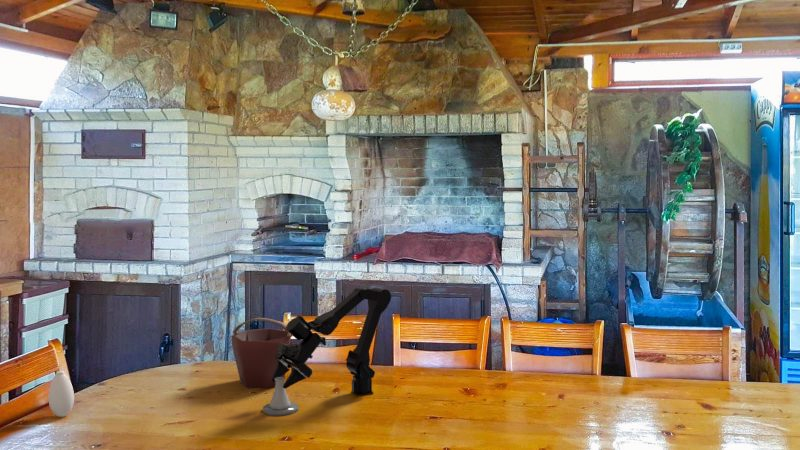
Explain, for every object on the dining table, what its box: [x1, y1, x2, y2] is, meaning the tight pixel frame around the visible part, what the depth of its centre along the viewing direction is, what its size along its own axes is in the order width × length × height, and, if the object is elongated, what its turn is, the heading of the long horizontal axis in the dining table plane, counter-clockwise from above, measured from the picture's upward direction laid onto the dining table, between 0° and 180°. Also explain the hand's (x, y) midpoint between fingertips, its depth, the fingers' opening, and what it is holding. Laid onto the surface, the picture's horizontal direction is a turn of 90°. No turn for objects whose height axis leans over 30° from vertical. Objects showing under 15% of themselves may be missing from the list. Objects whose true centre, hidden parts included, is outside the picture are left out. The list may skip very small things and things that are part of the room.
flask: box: [269, 377, 292, 410], centre depth 257 cm, size 7×7×10 cm
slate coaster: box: [262, 401, 299, 417], centre depth 257 cm, size 12×12×1 cm
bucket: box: [231, 317, 293, 390], centre depth 288 cm, size 24×22×25 cm
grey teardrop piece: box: [48, 363, 75, 418], centre depth 252 cm, size 8×8×18 cm
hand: (277, 384), depth 256 cm, fingers open, 9 cm apart
